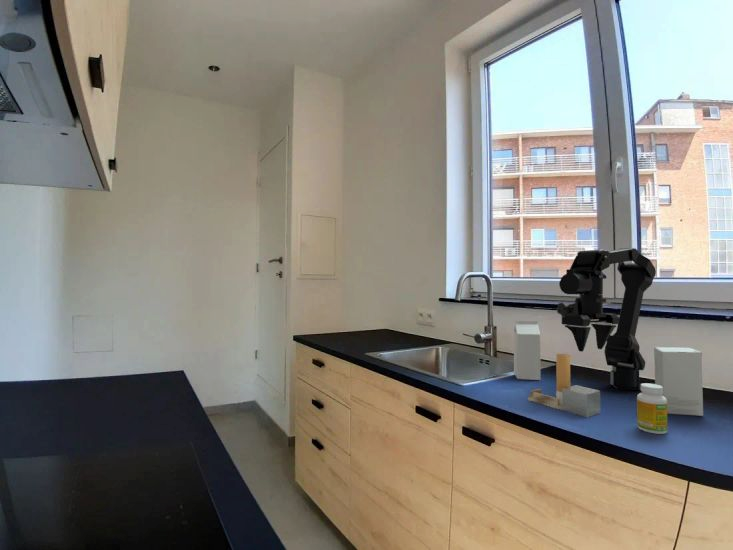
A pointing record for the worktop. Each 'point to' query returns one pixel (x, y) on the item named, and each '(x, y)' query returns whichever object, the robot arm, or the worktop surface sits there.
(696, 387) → the skincare box
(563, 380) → the orange upright rod
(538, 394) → the cradle
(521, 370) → the milk carton
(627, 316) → the robot arm
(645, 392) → the supplement bottle
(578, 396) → the socket
